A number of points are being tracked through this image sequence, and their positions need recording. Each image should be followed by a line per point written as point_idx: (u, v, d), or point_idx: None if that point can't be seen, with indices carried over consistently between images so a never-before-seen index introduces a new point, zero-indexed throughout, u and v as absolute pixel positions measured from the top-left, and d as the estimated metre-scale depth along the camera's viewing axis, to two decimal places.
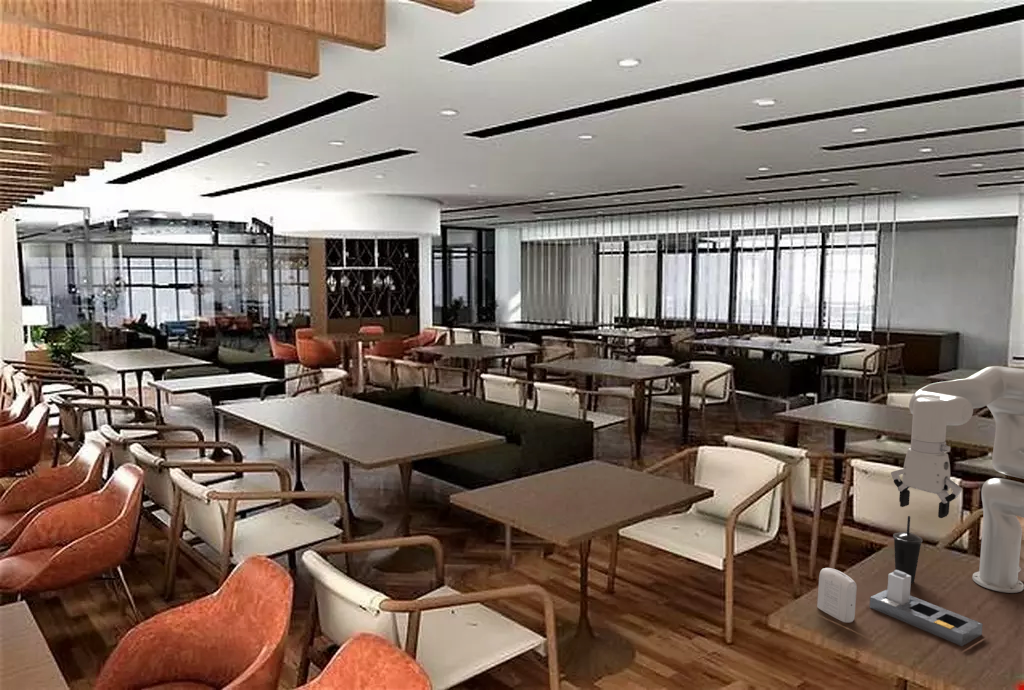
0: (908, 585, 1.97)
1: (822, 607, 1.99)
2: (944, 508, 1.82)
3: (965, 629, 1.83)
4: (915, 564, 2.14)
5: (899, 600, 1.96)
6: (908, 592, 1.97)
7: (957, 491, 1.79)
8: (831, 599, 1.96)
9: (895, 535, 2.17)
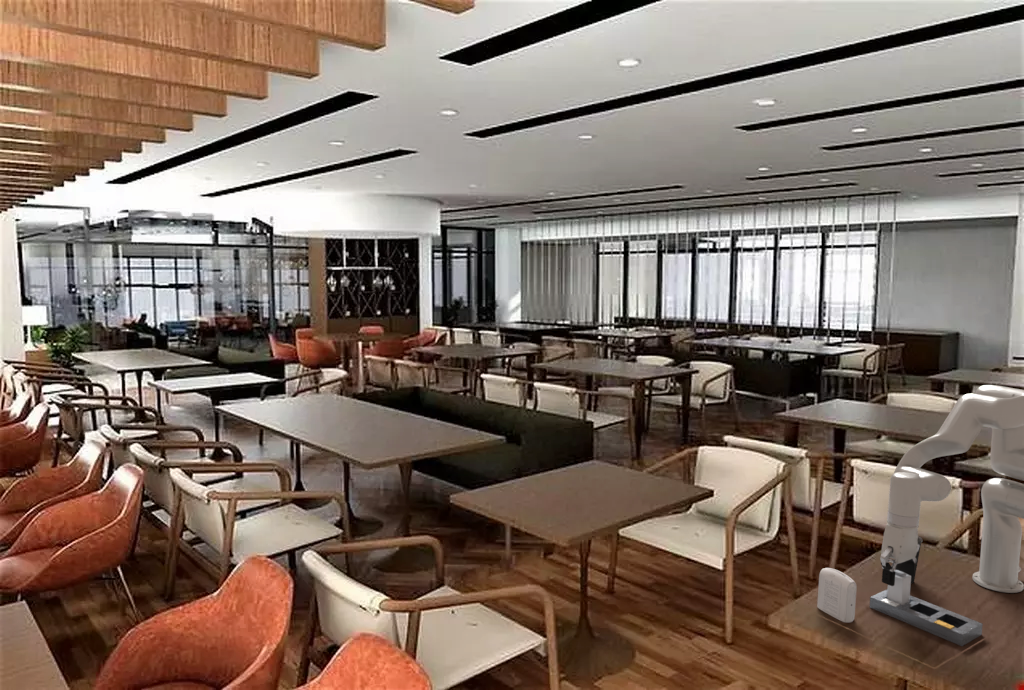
0: (908, 585, 1.97)
1: (822, 607, 1.99)
2: None
3: (965, 629, 1.83)
4: (915, 564, 2.14)
5: (899, 600, 1.96)
6: (908, 592, 1.97)
7: (918, 547, 2.01)
8: (831, 599, 1.96)
9: None
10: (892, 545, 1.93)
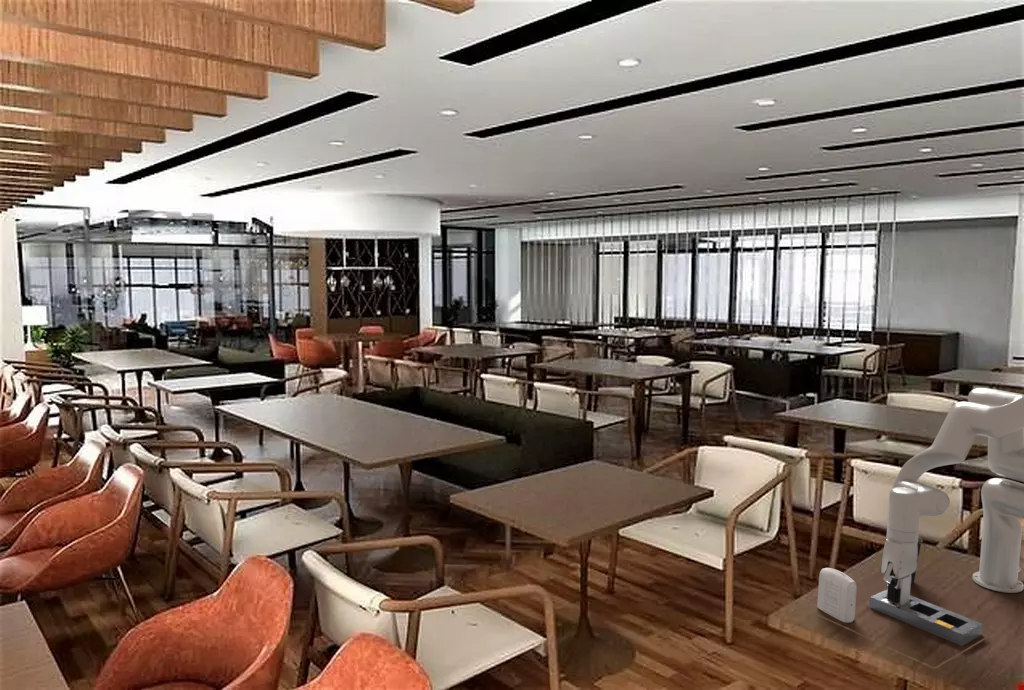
0: (908, 585, 1.97)
1: (822, 607, 1.99)
2: None
3: (965, 629, 1.83)
4: None
5: None
6: (908, 592, 1.97)
7: None
8: (831, 599, 1.96)
9: None
10: (892, 560, 1.94)
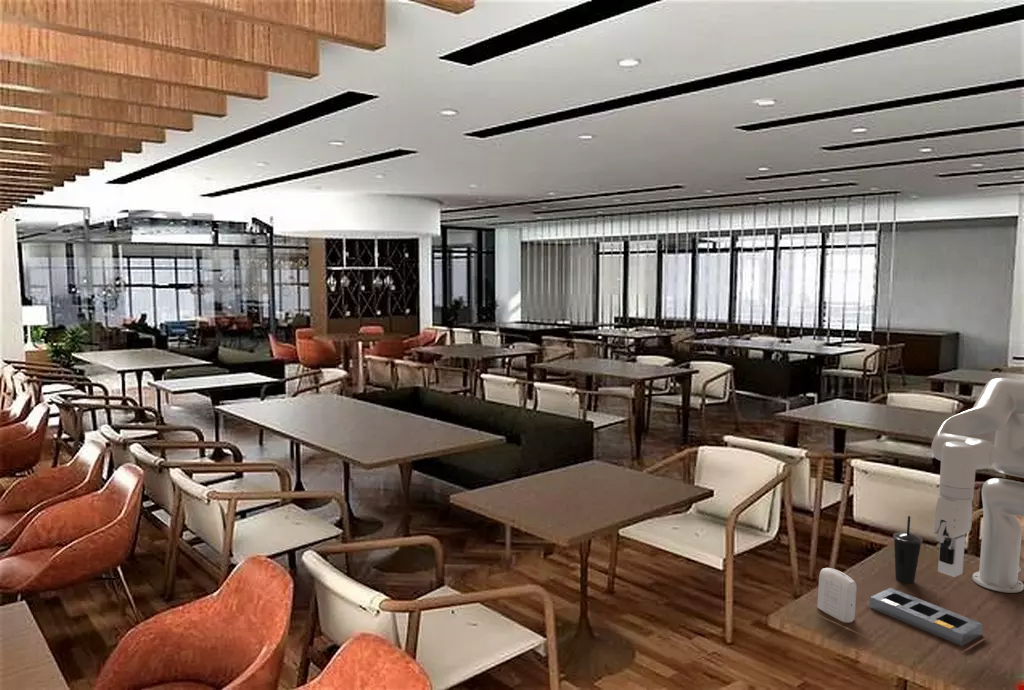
0: (962, 546, 1.84)
1: (822, 607, 1.99)
2: None
3: (965, 629, 1.83)
4: (915, 564, 2.14)
5: None
6: (962, 554, 1.85)
7: None
8: (831, 599, 1.96)
9: (895, 535, 2.17)
10: (945, 519, 1.82)
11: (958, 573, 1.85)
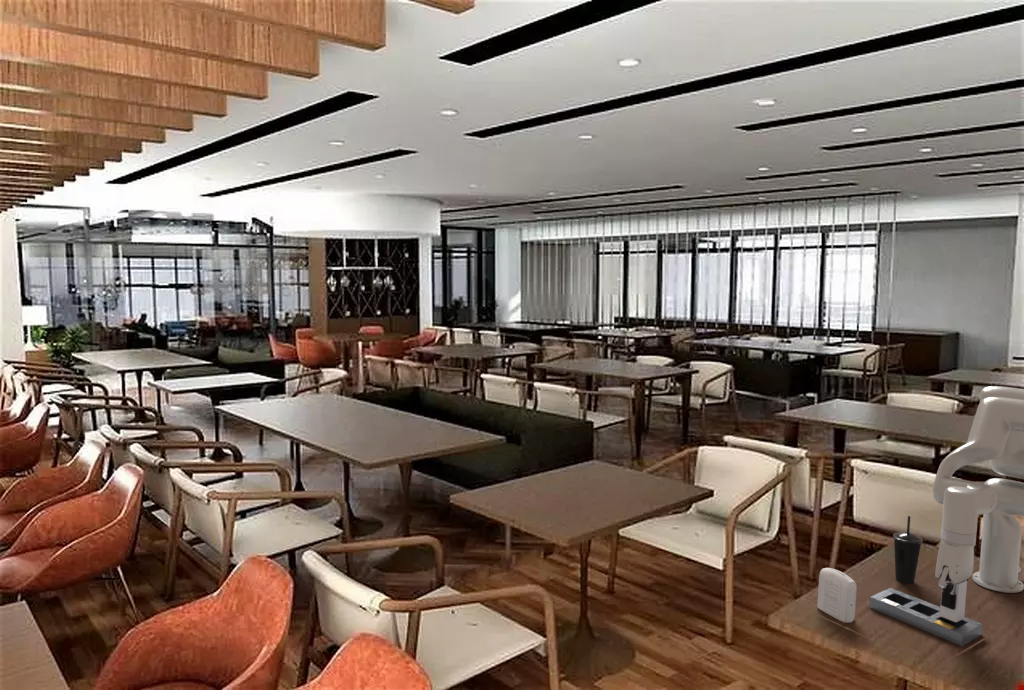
0: (964, 591, 1.85)
1: (822, 607, 1.99)
2: None
3: (965, 629, 1.83)
4: (915, 564, 2.14)
5: None
6: (963, 599, 1.85)
7: None
8: (831, 599, 1.96)
9: (895, 535, 2.17)
10: (948, 564, 1.82)
11: (960, 618, 1.85)
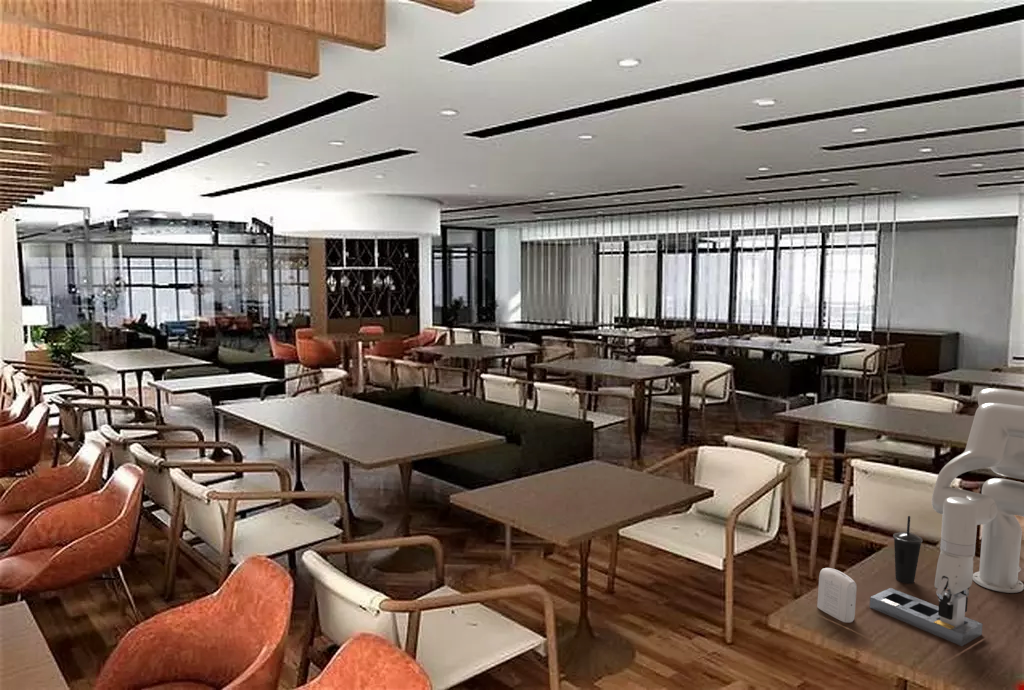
0: (963, 606, 1.85)
1: (822, 607, 1.99)
2: None
3: (965, 629, 1.83)
4: (915, 564, 2.14)
5: (954, 621, 1.85)
6: (963, 613, 1.86)
7: None
8: (831, 599, 1.96)
9: (895, 535, 2.17)
10: (947, 575, 1.82)
11: None
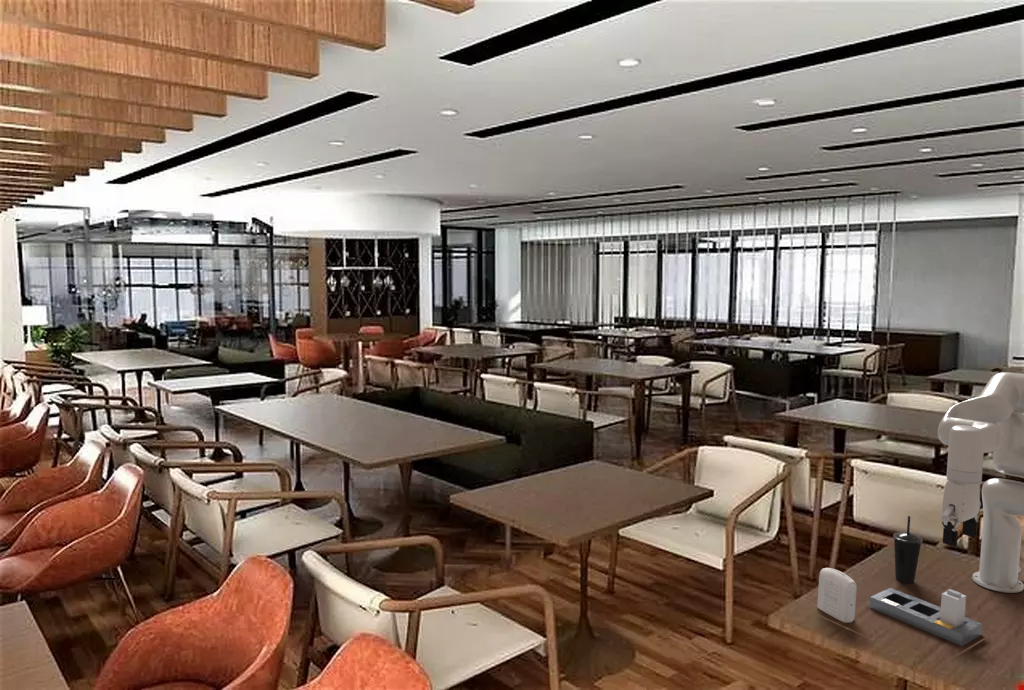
0: (963, 606, 1.85)
1: (822, 607, 1.99)
2: None
3: (965, 629, 1.83)
4: (915, 564, 2.14)
5: (954, 621, 1.85)
6: (963, 613, 1.86)
7: (979, 505, 1.88)
8: (831, 599, 1.96)
9: (895, 535, 2.17)
10: (954, 503, 1.81)
11: None
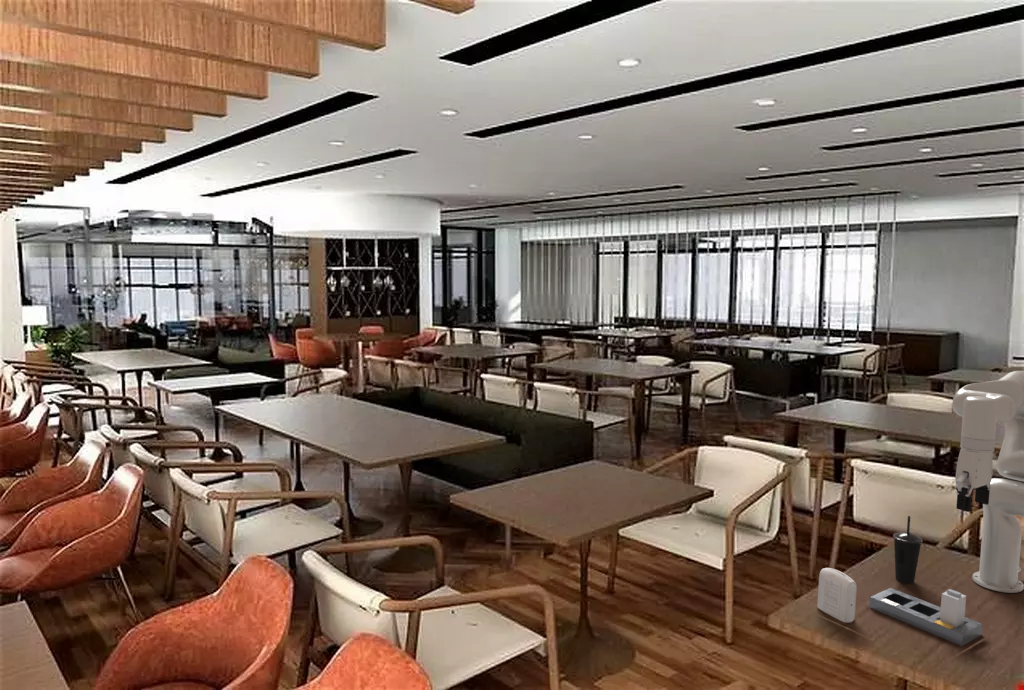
0: (963, 606, 1.85)
1: (822, 607, 1.99)
2: None
3: (965, 629, 1.83)
4: (915, 564, 2.14)
5: (954, 621, 1.85)
6: (963, 613, 1.86)
7: (991, 474, 1.96)
8: (831, 599, 1.96)
9: (895, 535, 2.17)
10: (967, 470, 1.89)
11: None
